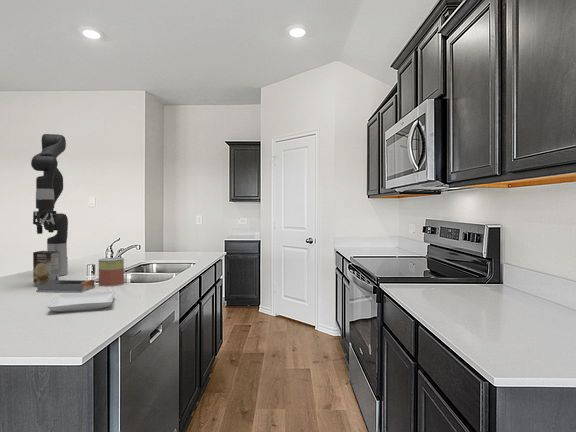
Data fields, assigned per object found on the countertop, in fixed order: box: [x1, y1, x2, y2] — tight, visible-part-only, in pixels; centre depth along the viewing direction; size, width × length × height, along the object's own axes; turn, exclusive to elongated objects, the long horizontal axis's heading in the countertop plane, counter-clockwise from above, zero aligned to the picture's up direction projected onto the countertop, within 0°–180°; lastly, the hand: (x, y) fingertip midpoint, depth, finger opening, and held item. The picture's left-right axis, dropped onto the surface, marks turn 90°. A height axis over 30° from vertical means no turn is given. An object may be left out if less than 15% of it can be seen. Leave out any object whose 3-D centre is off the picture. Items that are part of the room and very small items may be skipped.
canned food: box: [98, 257, 125, 287], centre depth 200 cm, size 11×11×12 cm
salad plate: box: [47, 290, 116, 313], centre depth 158 cm, size 21×21×3 cm
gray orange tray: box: [36, 279, 96, 294], centre depth 187 cm, size 12×20×4 cm, turn 88°
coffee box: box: [32, 250, 60, 287], centre depth 196 cm, size 9×6×16 cm
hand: (45, 233), depth 196 cm, fingers open, 8 cm apart
